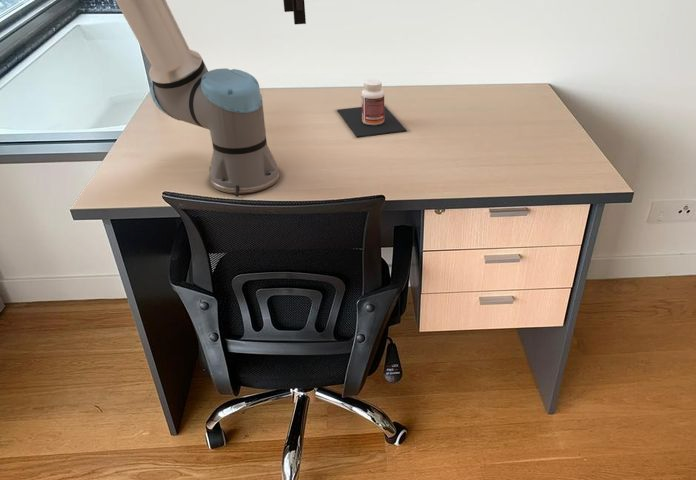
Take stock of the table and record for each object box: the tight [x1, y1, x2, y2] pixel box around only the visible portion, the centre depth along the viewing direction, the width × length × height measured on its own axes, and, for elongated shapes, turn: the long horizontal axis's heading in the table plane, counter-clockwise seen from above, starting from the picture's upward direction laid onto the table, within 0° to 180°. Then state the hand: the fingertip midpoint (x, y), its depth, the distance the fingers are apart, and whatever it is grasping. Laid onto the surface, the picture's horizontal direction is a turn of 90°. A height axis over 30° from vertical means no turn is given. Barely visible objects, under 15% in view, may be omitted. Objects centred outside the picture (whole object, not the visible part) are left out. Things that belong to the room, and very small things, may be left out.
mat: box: [337, 105, 408, 138], centre depth 164 cm, size 20×14×1 cm
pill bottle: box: [361, 79, 385, 125], centre depth 159 cm, size 6×6×11 cm
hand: (294, 17), depth 148 cm, fingers open, 13 cm apart
